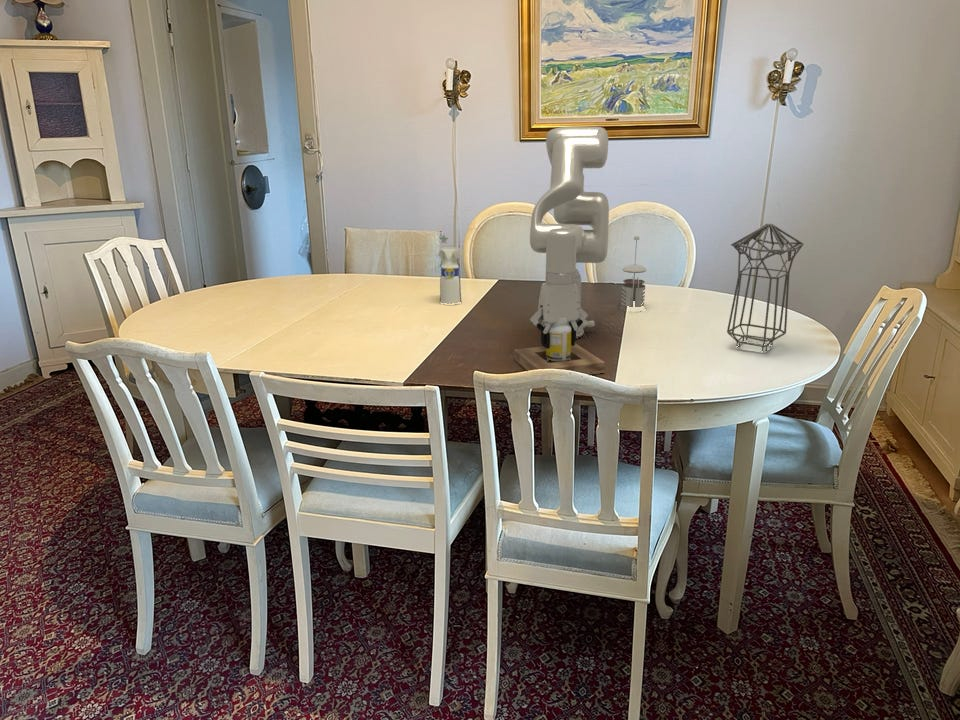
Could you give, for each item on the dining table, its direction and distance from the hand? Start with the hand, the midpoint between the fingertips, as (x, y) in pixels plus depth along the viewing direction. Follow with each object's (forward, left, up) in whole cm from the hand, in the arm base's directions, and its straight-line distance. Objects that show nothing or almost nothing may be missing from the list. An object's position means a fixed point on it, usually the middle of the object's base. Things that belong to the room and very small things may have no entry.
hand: (558, 345), depth 188 cm
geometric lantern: (-59, +4, -6) cm, 59 cm away
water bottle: (+7, -77, -6) cm, 78 cm away
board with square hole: (0, 0, -6) cm, 6 cm away
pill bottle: (0, 0, -4) cm, 4 cm away
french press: (-49, -47, -6) cm, 68 cm away
